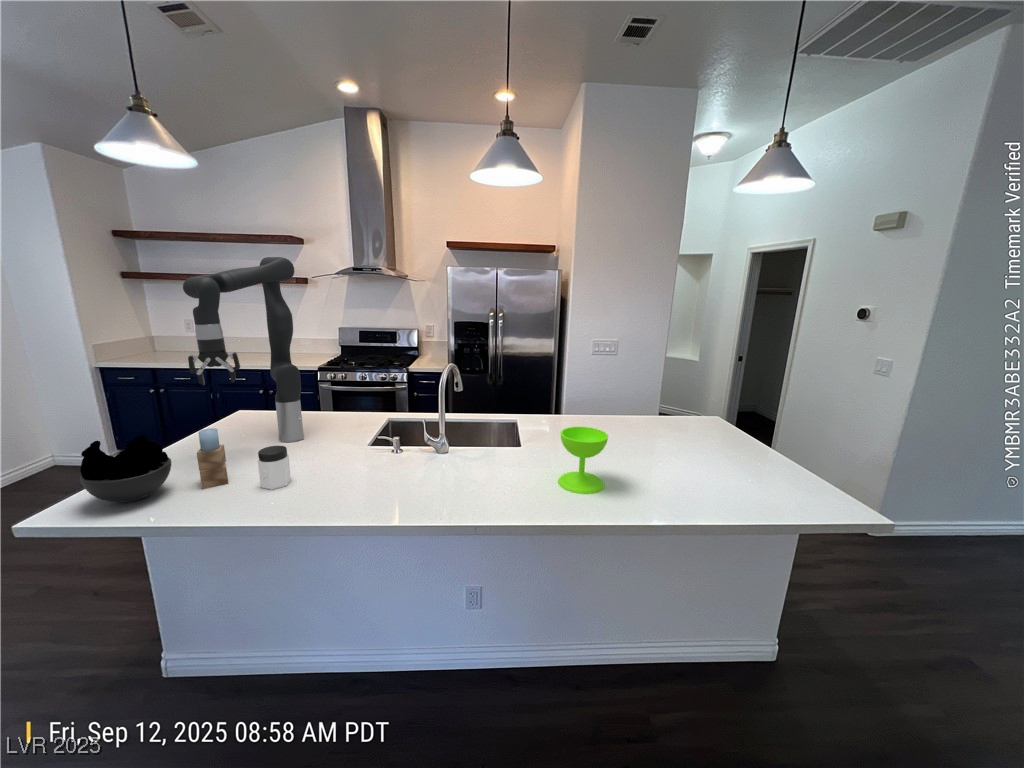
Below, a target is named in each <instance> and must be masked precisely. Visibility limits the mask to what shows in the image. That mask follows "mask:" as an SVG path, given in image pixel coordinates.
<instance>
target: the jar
mask: <svg viewBox="0 0 1024 768" xmlns="http://www.w3.org/2000/svg"><path fill="white" fill-rule="evenodd" d="M287 448H288V447H286V446H284V445H271V446H267V447H263V448H261V449H260V450H258V453H257V454H258V455H257V457H258V460H257V466H258V467H257V468H258V474H259V482H260V483H259V484H260V488H261V489H266V490H271V491H273V490H276V489H280V488H283V487H286V486H288V485H289V483H290V482H291V480H292V477H291V476H292V475H291V466H290V456H289V453H288V449H287Z"/></svg>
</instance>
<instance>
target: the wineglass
mask: <svg viewBox="0 0 1024 768" xmlns="http://www.w3.org/2000/svg"><path fill="white" fill-rule="evenodd" d="M608 439H609V434H607V433H606V432H605V431H603V430H601V429H598V428H593V427H589V426H588V427H587V426H570V427H565V428H563V429H561V431H560V440H561V443H562V445H563V447H564V448H565V450H566V451H567V452H568V453H569V454H571V455H572V456H574V457H577V458H579V465H578V471H570V472H566V473H562V474H561V475H560V476H559V478H558V479H557V484H558V486H559V487H560V488H561V489H563V490H565V491H567V492H570V493H575V494H579V495H593V494H598V493H599V492H601V491H603V490H604V488H605V484H604V481H603V480H602V479H601V478H600V477H599V476H597V475H596V474H592V473H590V472H586V471H585V469H586V467H585V466H586V459H590V458H593V457H595V456H597V455H599V454H601V452H602V451H603V450H604V449H605V447H606V445H607V443H608Z"/></svg>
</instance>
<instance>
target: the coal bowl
mask: <svg viewBox="0 0 1024 768" xmlns="http://www.w3.org/2000/svg"><path fill="white" fill-rule="evenodd" d="M125 447H126V448H124V449H123V450H120V451H119V452H118V453H117V454H116V455H115V456H114V455H109V454H107V453H106V452H105V451H103V450H101V441H100V440H94V441H93V442H91V443H90V445H89V446H87V447H86V448H85V449H84V450H82V452H81V454H80V456H81V457H83V459H81V464H80V474H81V475H80V476H79V481H80V483H81V485H82V487H83V488H84V489H85V491H87V492H88V493H89V494H90V495H91V496H93V497H94V498H97V500H101V501H104V502H110V503H119V504H120V503H130V502H134V501H138V500H141V499H143V498H146V497H148V496H150V495H151V494H153V493H154V492H156V491H157V490H158V489H160V487H162V486H163V484H164V483H165V482H166V480H167V479H168V478H169V475H170V474H171V473H170V472H171V468H172V459H171V458H170V457H169V456H168V454H167V451H164V450H163V448H162V447H161V445H160V444H158V443H157V442H156V443H155V442H153V441H150V440H149V439H148V436H146V435H143V434H142V435H138V436H136V437H135V438H134V439H132V440H130V441H129V443H127V444H126V445H125Z"/></svg>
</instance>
